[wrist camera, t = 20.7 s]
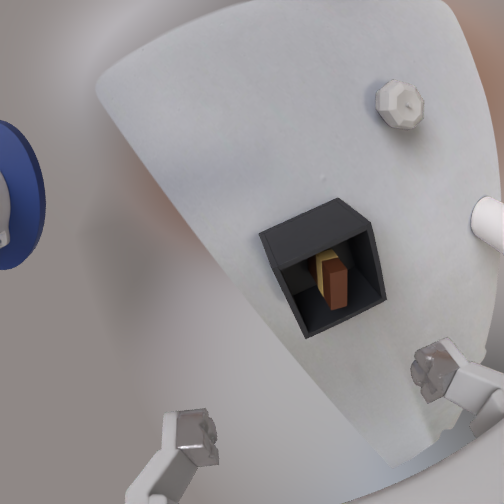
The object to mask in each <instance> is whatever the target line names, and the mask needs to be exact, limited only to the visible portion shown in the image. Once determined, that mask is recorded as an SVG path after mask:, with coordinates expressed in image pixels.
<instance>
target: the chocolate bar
mask: <svg viewBox="0 0 504 504" xmlns="http://www.w3.org/2000/svg"><path fill="white" fill-rule="evenodd" d="M307 260H308V270H309V272H310V274H311V276H312V277H313V279H314V281H315V283H316V284H317V286H318V289H319V291H320V292H321V294H322V296H323V297H324V299H325V300H326V302H327V304H328V306H329V307H330V309H331V310H334V309H338V308H342V307H345V306H347V268H346V267H345V266H344V264H343V263H342V262H341V261H340V259H339V258H338V256H337V255H336V254H335V252H334V251H333V250H332V249H331V248H328V249H326V250H324V251H322V252H320V253H318V254H315V255H313V256H311V257H309V258H307Z"/></svg>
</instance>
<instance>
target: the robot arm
mask: <svg viewBox="0 0 504 504" xmlns="http://www.w3.org/2000/svg"><path fill="white" fill-rule="evenodd" d="M10 208H11V206H10V196H9V191H8V187H7V184H6V181H5V179H4V177H3V175H2V173H1V172H0V248H2V247H4V246H6V245H7V244H9V242H10V233H9V227H8V226H9V218H10ZM414 357H415V359H416V360H415V361H414V362H413V363H412V365H411V376H412V379H413V381H414V383H415V384H416V385H418V386H420V387H421V394H422V396H423V397H424V399H425V400H426V402H427V404H428V403H430V402H433V401H435V400H437V399H439V398H441V397H443V396H444V397H445V398H446V399H448V400H450V401H451V402H453V403H455V404H457V405H458V406H460V407H462V408H463V409H465V410H467V411H469V412H470V413H472V414H474V415H476V417H475V418H474V419H473V420H472V422H471V423H470V426H469V427H470V429H471V430H472V432H473V434H474V436H475V437H476V439H475V440H473V441H472V442H470V443H469V444H467V445H466V446H464V447H463V448H462V449H460V450H458V451H456V452H455V453H453V454H451V455H450V456H448V457H446V458H445V459H443V460H441V461H439V462H438V463H436V464H434V465H432V466H430V467H428V468H427V469H425V470H423V471H421V472H419V473H417V474H415V475H413V476H411V477H409V478H406V479H404V480H402V481H400V482H398V483H395V484H393V485H391V486H389V487H386V488H384V489H381V490H379V491H377V492H374V493H371V494H368V495H366V496H363V497H360V498H357V499H355V500H351V501H348V502H345V503H342V504H504V374H503V373H501V372H498V371H496V370H493V369H491V368H488V367H485V366H483V365H480V364H478V363H475V362H473V361H471V362H469V361H468V360H467V359H466V358H465V356H464V355H463V354H462V353H461V351H460V350H459V349H458V348H457V347H456V345H455V344H454V343H453V342H452V341H451V339H450V338H448V337H446V338H443V339H441V340H439V341H437V342H434V343H432V344H430V345H428V346H426V347H423V348H421V349H419V350H417V351H416V352H415V355H414ZM216 441H217V432H216V427H215V424H214V422H213V420H212V418H209V417H208V411H207V410H206V408H203V409H195V410H185V411H173V412H166V413H165V414H164V419H163V433H162V450H158V451H157V452H156V453H155V455H154V456H153V457H152V459H151V460H150V461H149V463H148V464H147V465H146V466H145V468H144V469H143V470H142V472H141V473H140V474H139V475H138V477H137V478H136V479H135V481H134V482H133V483H132V484H131V486H130V487H129V488H128V489H127V491H126V497H125V504H179V503H178V502H179V500H180V499H181V497H182V495H183V494H184V492H185V490H186V488H187V486H188V485H189V483H190V481H191V480H192V478H193V476H194V474H195V473H196V471H197V469H198V468H197V467H202V466H212V465H219V456H218V449H217V448H216V446H215V445H214V444H215V443H216Z"/></svg>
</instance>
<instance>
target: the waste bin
mask: <svg viewBox="0 0 504 504" xmlns="http://www.w3.org/2000/svg"><path fill="white" fill-rule="evenodd" d="M259 236H260V238H261V241H262V244H263V246H264V249H265V252H266V254H267V257H268V260H269V262H270V265H271V268H272V270H273V272H274V274H275V276H276V278H277V280H278V282H279V285H280V287H281V289H282V291H283V293H284V295H285V297H286V299H287V301H288V303H289V305H290V308H291V310H292V312H293V314H294V316H295V318H296V320H297V322H298V324H299V326H300V329H301V331H302V333H303V335H304V337H305V339H307V338H309V337H312V336H314V335H316V334H318V333H321V332H323V331H325V330H327V329H329V328H331V327H334V326H336V325H338V324H340V323H342V322H344V321H346V320H348V319H350V318H352V317H354V316H356V315H358V314H360V313H362V312H364V311H366V310H368V309H370V308H372V307H374V306H376V305H378V304H380V303H382V302H384V301H385V300H387V298H386V292H385V286H384V281H383V275H382V270H381V265H380V260H379V255H378V251H377V246H376V242H375V237H374V233H373V229H372V225H371V222H370V221H368V220H367V219H366V218H365V217H363V216H362V215H361V214H359V213H358V212H357V211H356V210H354V209H353V208H352V207H350V206H349V205H348V204H346V203H345V202H344V201H342V200H341V199H340V198H336V199H334V200H332V201H329V202H327V203H325V204H323V205H321V206H318V207H316V208H314V209H312V210H309V211H307V212H305V213H303V214H301V215H298V216H296V217H294V218H292V219H290V220H287V221H285V222H283V223H281V224H279V225H277V226H274V227H272V228H270V229H268V230H266V231H263V232H261V233H259ZM328 248H331V249H332V250H333V251H334V252H335V254H336V255H337V256H338V258H339V259H340V261H341V262H342V263H343V264H344V266H345V267H346V268H347V306H345V307H342V308H338V309H334V310H331V309H330V307H329V306H328V304H327V302H326V300H325V299H324V297H323V296H322V294H321V292H320V291H319V289H318V286H317V284H316V283H315V281H314V279H313V277H312V276H311V274H310V272H309V270H308V260H307V258H309V257H311V256H313V255H315V254H318V253H320V252H322V251H324V250H326V249H328Z"/></svg>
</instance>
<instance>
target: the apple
mask: <svg viewBox="0 0 504 504" xmlns="http://www.w3.org/2000/svg"><path fill="white" fill-rule="evenodd" d="M376 110H377V111H378V112H379V114H380V115H381V117H382V118H383V119H384V121H385V122H386V123H387V124H388V125H389V126H391V127H393V128H398V129H404V130H410V129H413V128H414V127H415V126H416V125H417V124H418V123H419V122H420V121H421V120H422V119H423V117H424V100H423V98H422V97H421V95H420V93H419V92H418V90H417V89H416V87H415V86H414V85H411V84H408V83H405V82H401V81H397V80H394V79H393V80H391V81H390V82H388V83H387V84H386V85H384V86H383V87H382V88H381V89H380V90H378V91H377V92H376Z"/></svg>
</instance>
